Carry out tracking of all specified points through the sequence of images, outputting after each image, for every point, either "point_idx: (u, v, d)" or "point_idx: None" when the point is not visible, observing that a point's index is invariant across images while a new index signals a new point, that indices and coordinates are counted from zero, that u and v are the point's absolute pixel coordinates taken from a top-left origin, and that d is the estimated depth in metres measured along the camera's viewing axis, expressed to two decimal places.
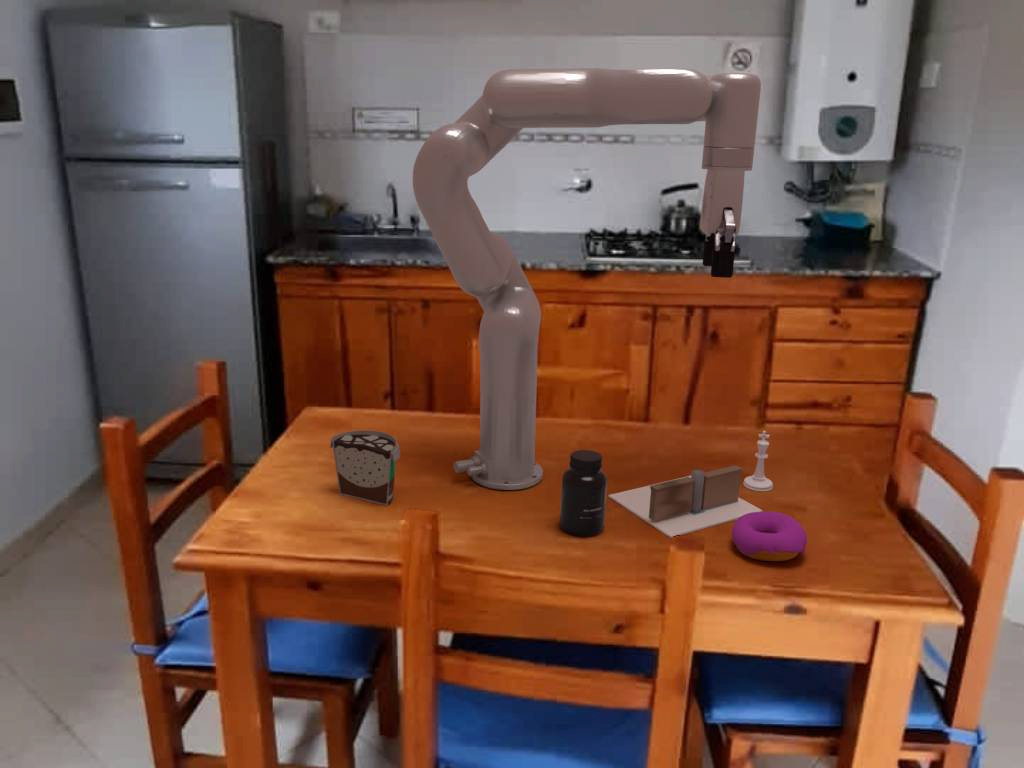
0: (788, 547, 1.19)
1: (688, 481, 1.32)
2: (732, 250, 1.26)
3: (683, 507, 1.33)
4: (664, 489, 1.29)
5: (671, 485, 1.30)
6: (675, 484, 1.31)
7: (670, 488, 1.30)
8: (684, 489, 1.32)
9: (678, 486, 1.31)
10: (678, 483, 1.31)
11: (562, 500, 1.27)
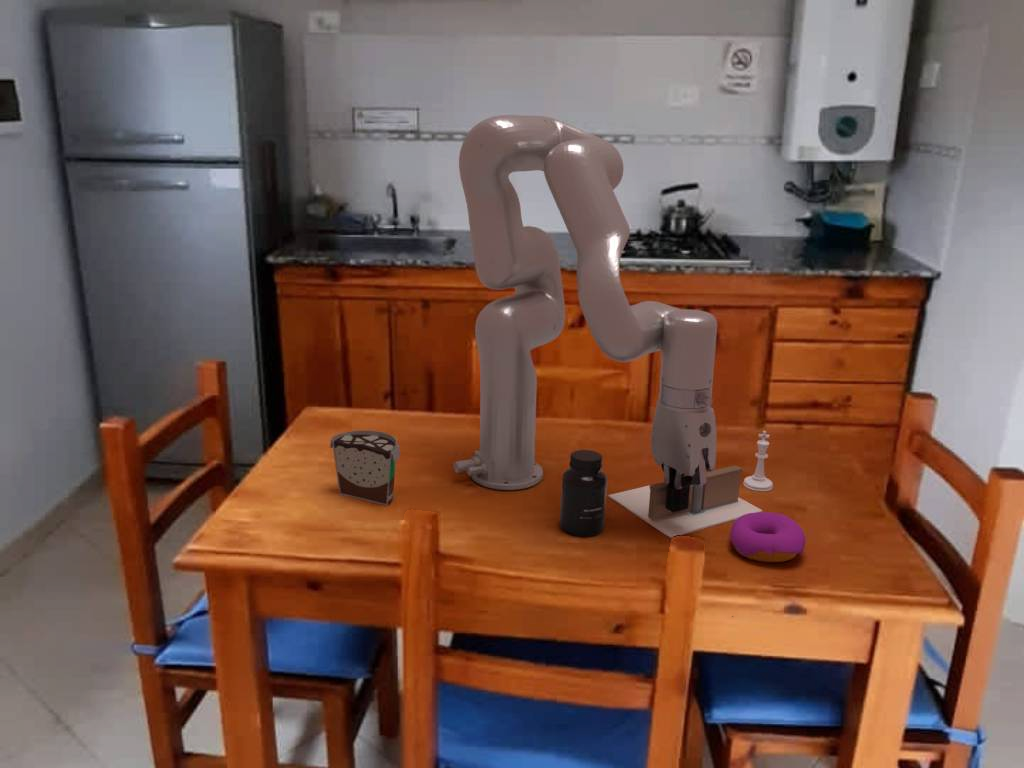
0: (786, 548, 1.18)
1: None
2: None
3: None
4: (663, 488, 1.30)
5: None
6: None
7: None
8: None
9: None
10: None
11: (562, 500, 1.27)
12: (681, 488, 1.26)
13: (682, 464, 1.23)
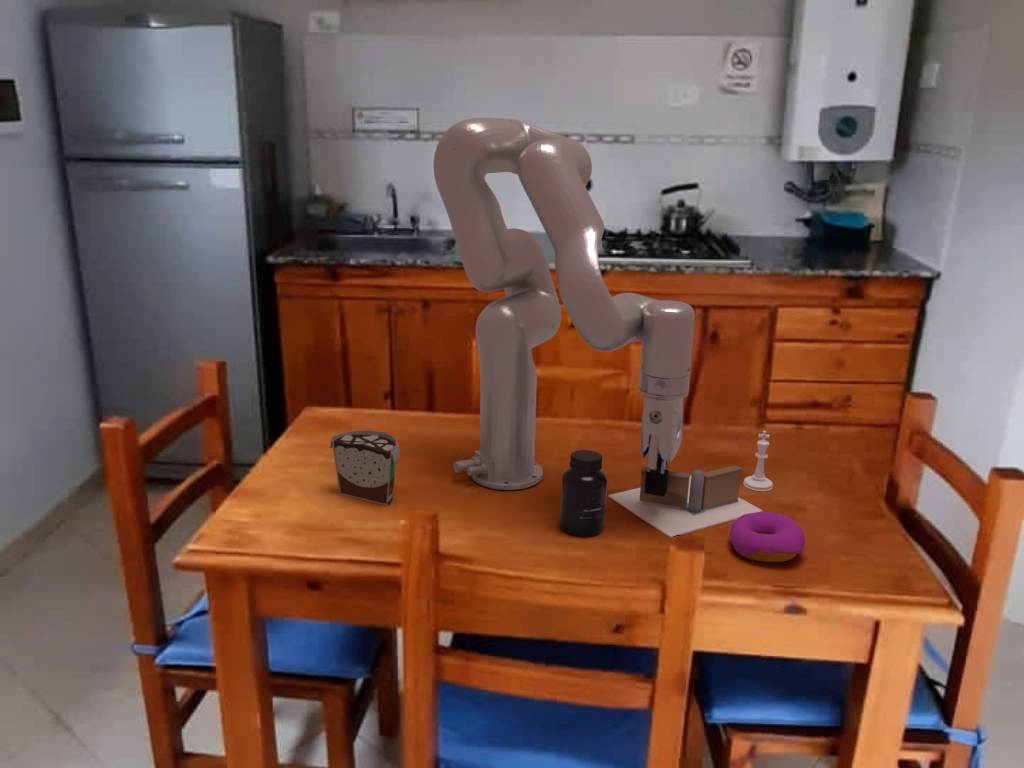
0: (786, 548, 1.18)
1: (681, 476, 1.34)
2: None
3: (676, 500, 1.35)
4: None
5: None
6: None
7: None
8: (676, 482, 1.34)
9: None
10: (669, 474, 1.34)
11: (562, 500, 1.27)
12: (650, 471, 1.31)
13: None
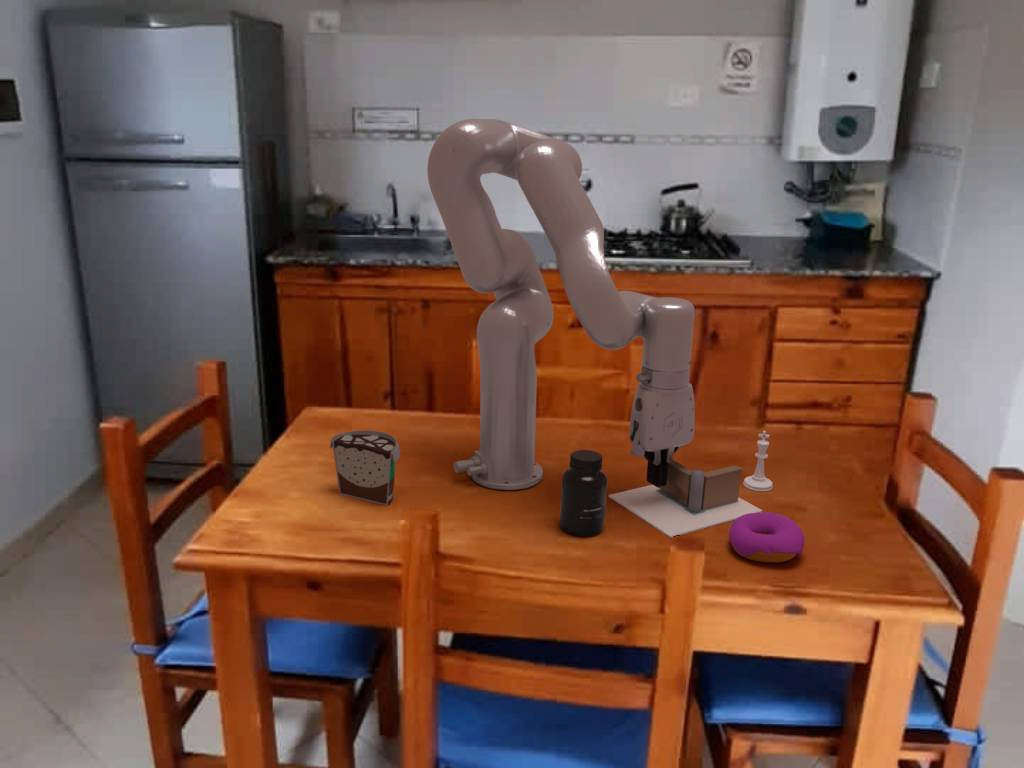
0: (785, 548, 1.18)
1: (684, 472, 1.35)
2: None
3: (680, 495, 1.37)
4: None
5: (671, 464, 1.38)
6: (674, 466, 1.37)
7: (669, 465, 1.38)
8: (681, 477, 1.36)
9: (675, 469, 1.37)
10: (677, 467, 1.37)
11: (562, 500, 1.27)
12: (647, 459, 1.37)
13: None
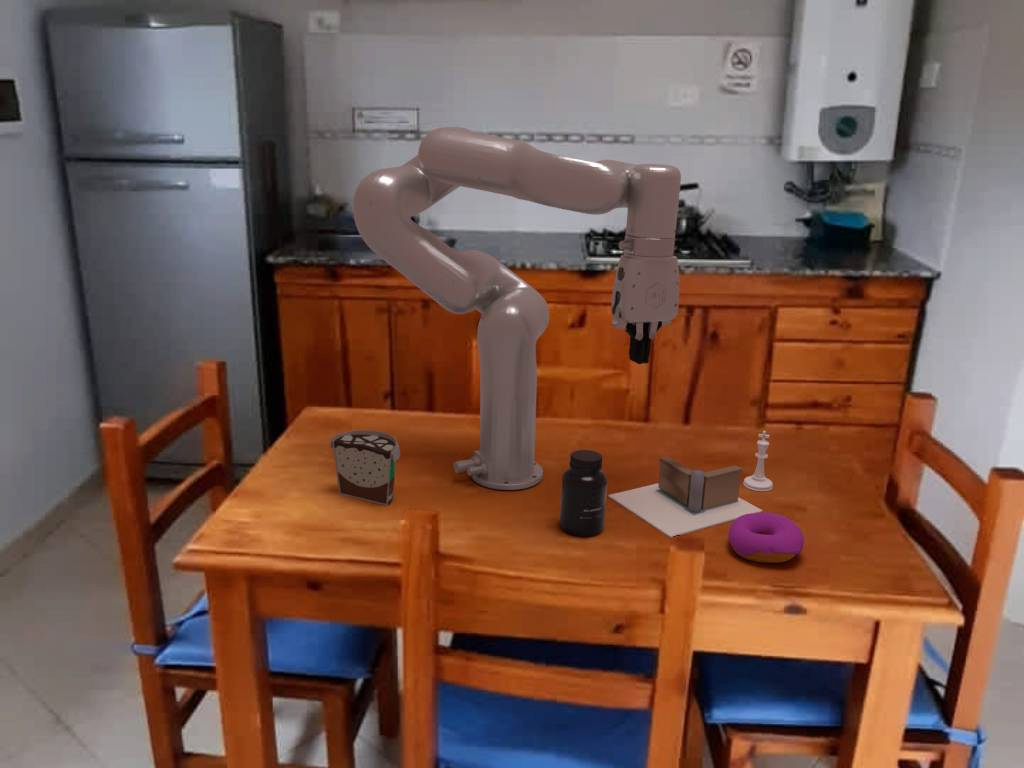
0: (785, 549, 1.18)
1: (684, 472, 1.35)
2: None
3: (680, 495, 1.37)
4: (665, 462, 1.39)
5: (671, 464, 1.38)
6: (675, 466, 1.37)
7: (669, 465, 1.38)
8: (681, 477, 1.36)
9: (675, 469, 1.37)
10: (677, 467, 1.37)
11: (562, 500, 1.27)
12: (629, 335, 1.34)
13: None
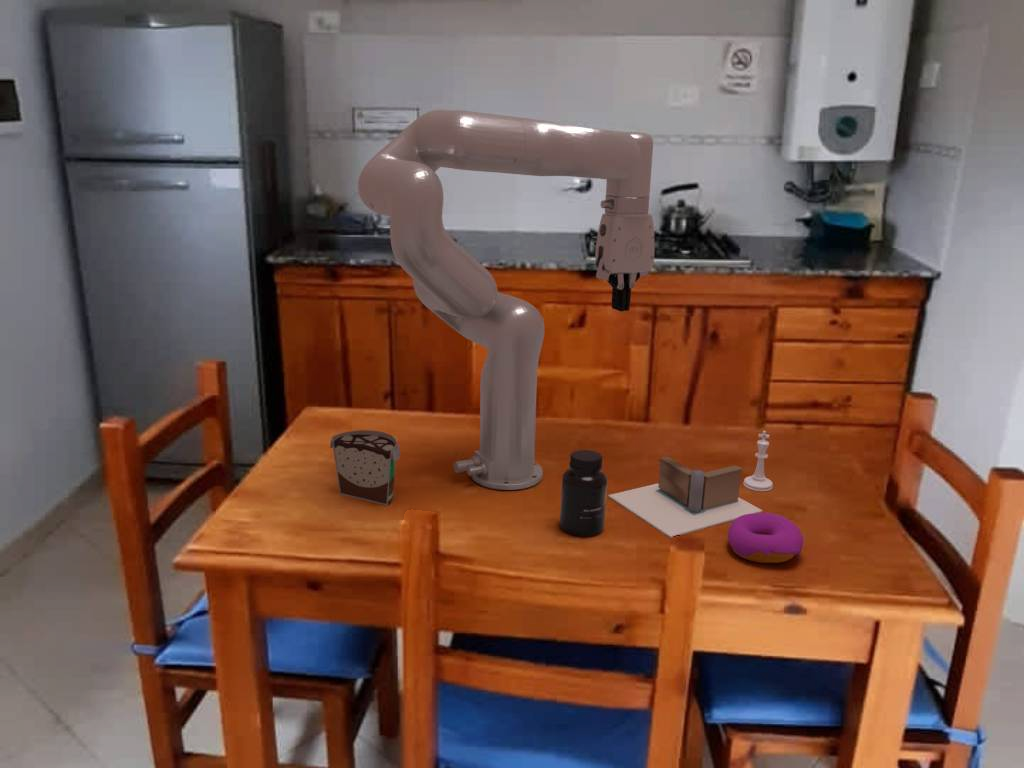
0: (784, 549, 1.18)
1: (684, 472, 1.35)
2: None
3: (680, 495, 1.37)
4: (665, 462, 1.39)
5: (671, 464, 1.38)
6: (675, 466, 1.37)
7: (669, 465, 1.38)
8: (681, 477, 1.36)
9: (675, 469, 1.37)
10: (677, 467, 1.37)
11: (562, 500, 1.27)
12: (611, 286, 1.51)
13: None
